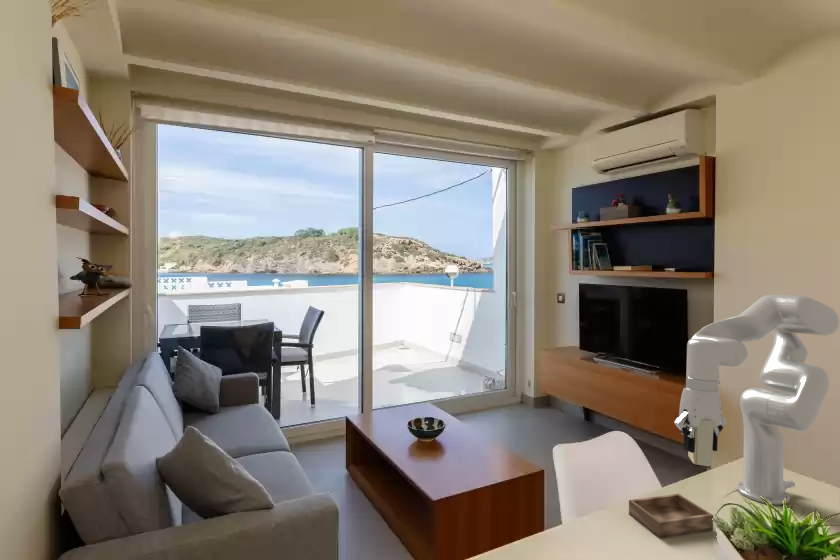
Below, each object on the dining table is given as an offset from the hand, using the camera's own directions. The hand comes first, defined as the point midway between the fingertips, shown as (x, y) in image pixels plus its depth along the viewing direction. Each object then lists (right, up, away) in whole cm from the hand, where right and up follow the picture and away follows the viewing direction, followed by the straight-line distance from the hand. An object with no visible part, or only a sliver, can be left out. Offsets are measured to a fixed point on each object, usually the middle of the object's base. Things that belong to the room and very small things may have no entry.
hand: (700, 449), depth 124 cm
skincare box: (0, -3, 0) cm, 3 cm away
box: (-10, -18, -3) cm, 21 cm away
